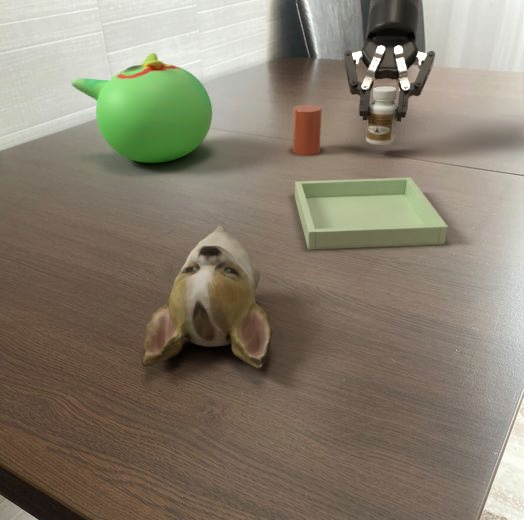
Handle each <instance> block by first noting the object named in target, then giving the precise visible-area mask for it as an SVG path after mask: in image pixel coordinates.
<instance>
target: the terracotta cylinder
mask: <svg viewBox="0 0 524 520" xmlns="http://www.w3.org/2000/svg"><path fill="white" fill-rule="evenodd" d="M322 108H323V107H322V106H319V105H315V104H300V105H296V106H293V113H292V114H293V124H292V153H293V154H295V155H297V156H302V157H303V156H304V157H305V156H306V157H307V156H310V157H311V156H315V155H318V154H319V153H320V152H321V138H322V137H321V135H322V110H323V109H322Z"/></svg>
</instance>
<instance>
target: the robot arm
mask: <svg viewBox="0 0 524 520" xmlns="http://www.w3.org/2000/svg"><path fill="white" fill-rule="evenodd" d="M420 6H421V0H370V3H369V11H368V19H367V28H366V29H367V30H366V37H365V44H364V45H363V47H361V50H360V51H356V52H352V50H350V49H347V50H345V51H344V55H343V56H344V57H343V58H344V59H343V60H344V69H345V73H346V78H347V84H348V88H349V93H350V94H351V95H358V96H359V104H358V105H359V106H358V115H359V117H362V121H368V110H369V105H370V102H371V93H372V92H373V89H374V88H375V86H376V85H377V82H378V80H384V79H389V80H395V83H396V86H397V87H396V88H398V92H399V94H398V102H397V106H398V110H397V119H396V122H402V118H403V119H405V118H406V116H407V115H408V107H409V99H410V98H411V97H413V96H415V97H419V96H421V94H422V92H423V90H424V88H425V85H426V83H427V80H428V78H429V75H430V73H431V71H432V69H433V66H434V63H435V57H436V52H435V51H433V50H429V51H427V52H421V51H419V48H418V46H417V35H418V24H419V16H420ZM360 62H363V64H364V66H365V67H366V69H367V70H366V74H365V77H364V78H363V81H359V80H358V74H357V69H358V68H359V65H360ZM416 62H417V63H418V64H417V68H418V69H419V71H418V73H417V75H416V78H415V80H414V81H413V82H410V79H409V73H408V70H409V69H410V68H411V66H413V64H414V63H416Z"/></svg>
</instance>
